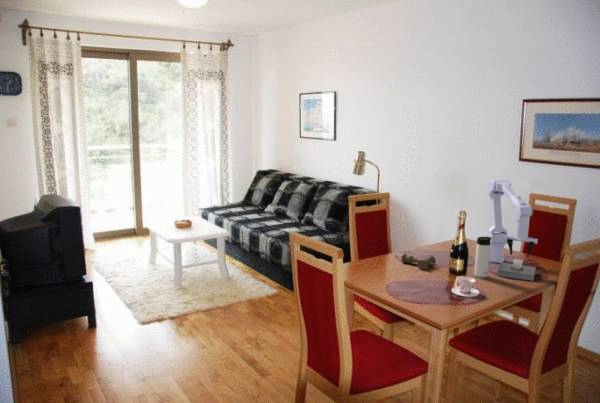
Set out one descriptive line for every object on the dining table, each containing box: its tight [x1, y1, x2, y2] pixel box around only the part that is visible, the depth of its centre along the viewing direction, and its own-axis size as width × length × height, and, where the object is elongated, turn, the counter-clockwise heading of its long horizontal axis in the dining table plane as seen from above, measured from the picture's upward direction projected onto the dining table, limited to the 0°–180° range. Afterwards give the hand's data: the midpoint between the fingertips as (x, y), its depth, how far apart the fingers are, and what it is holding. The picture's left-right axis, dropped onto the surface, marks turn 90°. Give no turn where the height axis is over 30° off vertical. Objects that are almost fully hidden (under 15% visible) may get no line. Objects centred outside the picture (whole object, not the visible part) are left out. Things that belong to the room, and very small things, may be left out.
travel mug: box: [473, 236, 492, 279], centre depth 239 cm, size 6×7×20 cm
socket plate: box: [497, 262, 536, 282], centre depth 244 cm, size 16×14×3 cm
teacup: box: [451, 275, 480, 298], centre depth 220 cm, size 12×12×6 cm
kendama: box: [401, 253, 438, 271], centre depth 255 cm, size 6×10×20 cm
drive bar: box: [512, 258, 524, 271], centre depth 244 cm, size 4×4×7 cm
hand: (519, 255), depth 244 cm, fingers open, 7 cm apart
